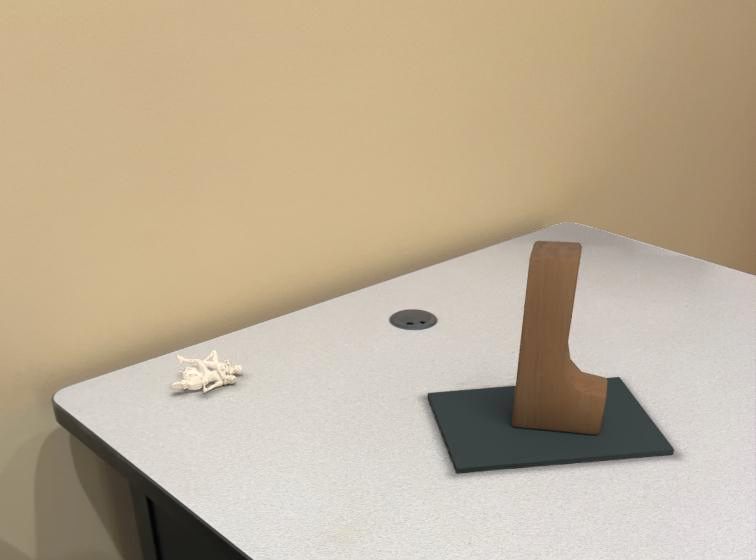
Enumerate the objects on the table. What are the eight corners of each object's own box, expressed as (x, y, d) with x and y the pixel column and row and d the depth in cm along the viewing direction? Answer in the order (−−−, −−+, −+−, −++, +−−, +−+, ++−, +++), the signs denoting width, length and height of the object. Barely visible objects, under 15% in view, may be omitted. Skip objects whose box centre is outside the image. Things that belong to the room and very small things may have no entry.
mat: (618, 381, 102) (619, 376, 101) (673, 454, 89) (674, 449, 89) (427, 397, 101) (427, 392, 101) (456, 473, 89) (456, 468, 89)
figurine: (247, 372, 109) (228, 400, 103) (187, 367, 110) (165, 395, 104) (246, 348, 107) (227, 375, 101) (185, 344, 108) (162, 370, 102)
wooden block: (601, 415, 95) (632, 243, 83) (599, 436, 92) (631, 260, 80) (515, 407, 97) (534, 239, 85) (510, 428, 94) (529, 255, 82)
